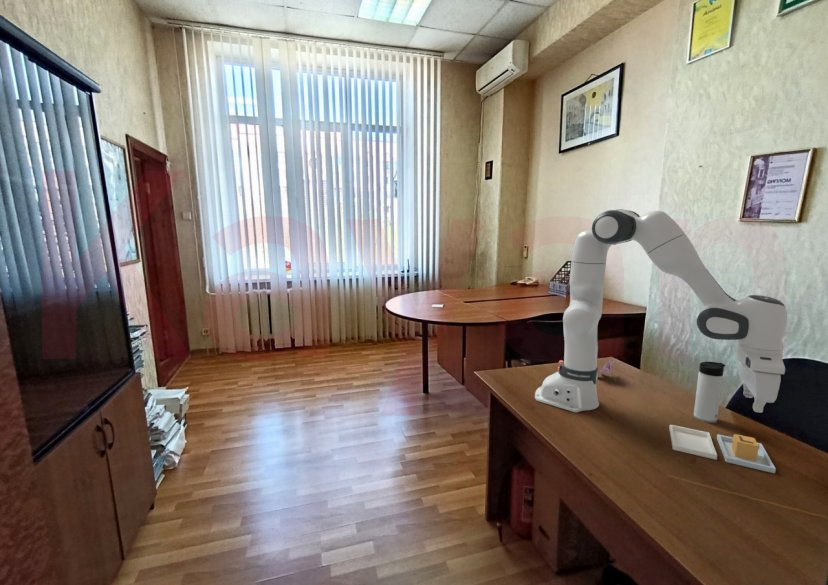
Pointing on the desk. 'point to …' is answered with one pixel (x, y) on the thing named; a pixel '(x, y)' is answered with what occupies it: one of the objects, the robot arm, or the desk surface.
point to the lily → (607, 368)
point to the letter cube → (745, 447)
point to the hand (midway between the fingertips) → (752, 403)
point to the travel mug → (708, 391)
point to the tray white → (692, 441)
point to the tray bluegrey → (760, 464)
